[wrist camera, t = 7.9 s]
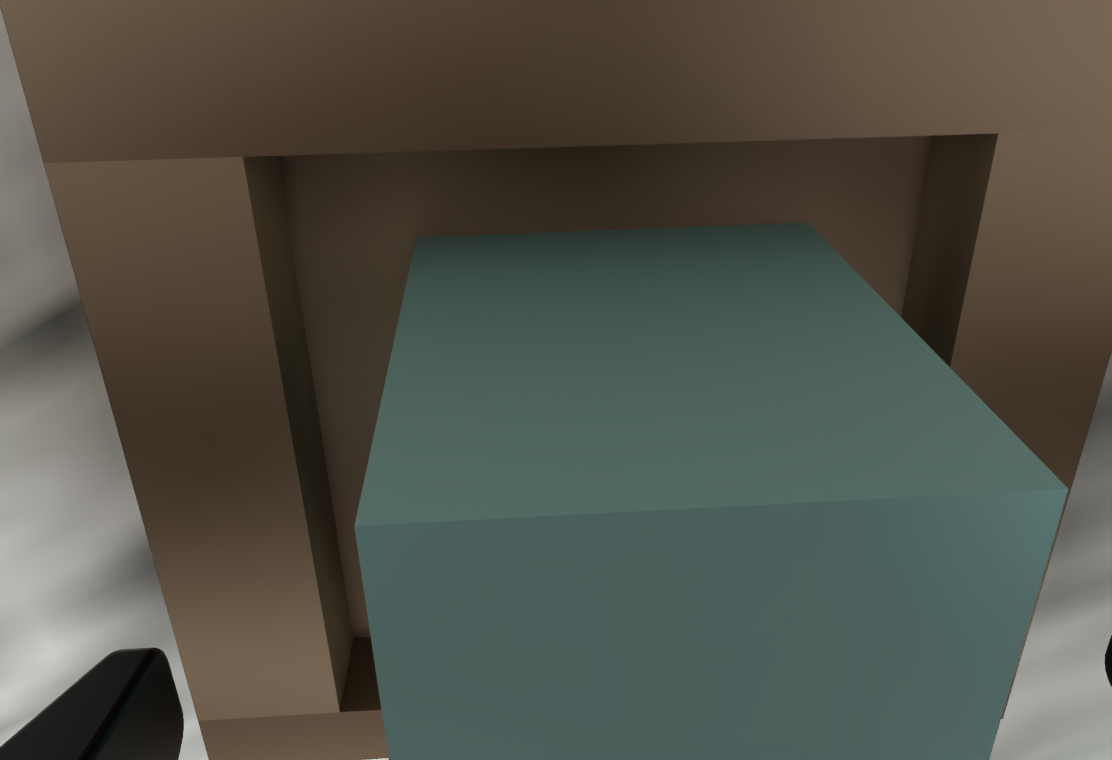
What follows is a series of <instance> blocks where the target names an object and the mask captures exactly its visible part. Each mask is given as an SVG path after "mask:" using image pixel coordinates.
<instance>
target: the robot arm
mask: <svg viewBox="0 0 1112 760" xmlns="http://www.w3.org/2000/svg"><path fill="white" fill-rule="evenodd" d="M1105 669H1106V673H1107V677H1108V680H1109V682H1110V685H1111V687H1112V636H1111V639H1110V642H1109V644H1108V647H1107V650H1106V654H1105ZM183 729H184V719H183V712H182V707H181V704H180V700H179V697H178V694H177V690H176V687H175V683H174V680H173V676H172V673H171V669H170V666H169V662H168V659H167V657H166V655H165V654H164V652H163V651H162V650H160V649H157V648H138V649H121V650H117V651H114V652H112V653H110V654H109V655H108V656H106V657H105V658H104V659H102V660H101V661H100V662H99V663H98V664H97V665H95V666H94V667H93V668H92V669H91V670H90V671H88V672H87V673H86V674H85V675H84V676H83V677H81V678H80V679H79V680H78V681H77V682H76V683H74V684H73V685H72V686H71V687H70V688H69V689H67V690H66V691H65V692H64V693H63V694H61V695H60V696H59V697H58V698H57V699H56V700H54V701H53V702H52V703H51V704H50V705H49V706H47V707H46V708H45V709H44V710H43V711H42V712H40V713H39V714H38V715H37V716H36V717H35V718H33V719H32V720H31V721H30V722H29V723H27V724H26V725H25V726H24V727H23V728H22V729H20V730H19V731H18V732H17V733H16V734H15V735H13V736H12V737H11V738H10V739H9V740H8V741H6V742H5V743H4V744H3V745H2V746H1V747H0V760H178V758H179V753H180V749H181V744H182V738H183Z"/></svg>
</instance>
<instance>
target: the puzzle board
mask: <svg viewBox="0 0 1112 760" xmlns="http://www.w3.org/2000/svg"><path fill="white" fill-rule="evenodd" d="M0 7H1V11H2V14H3V18H4V22H5V25H6V29H7V33H8V36H9V40H10V43H11V47H12V51H13V54H14V58H15V61H16V65H17V69H18V72H19V76H20V79H21V83H22V87H23V90H24V94H25V97H26V101H27V105H28V108H29V112H30V116H31V119H32V123H33V126H34V130H35V134H36V137H37V141H38V144H39V148H40V152H41V155H42V159H43V162H44V166H45V170H46V173H47V177H48V181H49V184H50V188H51V191H52V195H53V199H54V202H55V206H56V209H57V213H58V217H59V220H60V224H61V227H62V231H63V235H64V238H65V242H66V245H67V249H68V253H69V256H70V260H71V264H72V267H73V271H74V274H75V278H76V282H77V285H78V289H79V292H80V296H81V300H82V303H83V307H84V310H85V314H86V318H87V321H88V325H89V329H90V332H91V336H92V339H93V343H94V347H95V350H96V354H97V357H98V361H99V365H100V368H101V372H102V375H103V379H104V383H105V386H106V390H107V393H108V397H109V401H110V404H111V408H112V412H113V415H114V419H115V422H116V426H117V430H118V433H119V437H120V440H121V444H122V448H123V451H124V455H125V458H126V462H127V466H128V469H129V473H130V477H131V480H132V484H133V487H134V491H135V495H136V498H137V502H138V505H139V509H140V513H141V516H142V520H143V523H144V527H145V531H146V534H147V538H148V542H149V545H150V549H151V552H152V556H153V560H154V563H155V567H156V570H157V574H158V578H159V581H160V585H161V588H162V592H163V596H164V599H165V603H166V606H167V610H168V614H169V617H170V621H171V625H172V628H173V632H174V635H175V639H176V643H177V646H178V650H179V653H180V657H181V661H182V664H183V668H184V671H185V675H186V679H187V682H188V686H189V690H190V693H191V697H192V700H193V704H194V708H195V711H196V715H197V718H198V722H199V726H200V729H201V733H202V736H203V740H204V744H205V747H206V751H207V754H208V758H209V760H362V759H378V758H388V751H387V744H386V737H385V731H384V724H383V717H382V710H381V703H380V697H379V690H378V683H377V676H376V670H375V663H374V656H373V649H372V642H371V636H370V629H369V622H368V615H367V608H366V602H365V595H364V588H363V581H362V575H361V568H360V561H359V554H358V547H357V541H356V534H355V527H354V526H355V521H356V516H357V512H358V507H359V502H360V498H361V493H362V488H363V483H364V479H365V474H366V469H367V465H368V460H369V455H370V451H371V446H372V441H373V437H374V432H375V427H376V423H377V418H378V413H379V409H380V404H381V399H382V395H383V390H384V385H385V381H386V376H387V371H388V367H389V362H390V357H391V353H392V348H393V343H394V339H395V334H396V329H397V325H398V320H399V315H400V311H401V306H402V301H403V297H404V292H405V287H406V282H407V278H408V273H409V268H410V264H411V259H412V254H413V250H414V245H415V240H416V237H432V236H459V235H486V234H513V233H539V232H566V231H593V230H620V229H647V228H674V227H701V226H728V225H755V224H782V223H809V224H810V225H811V226H812V227H813V228H814V229H815V230H816V231H817V232H818V233H819V234H820V235H821V236H822V237H823V238H824V239H825V240H826V241H827V242H828V243H829V244H830V246H831V247H832V248H833V249H834V250H835V251H836V252H837V253H838V254H839V255H840V256H841V257H842V258H843V259H844V260H845V261H846V262H847V263H848V264H849V265H850V266H851V267H852V268H853V269H854V270H855V271H856V272H857V273H858V274H859V275H860V276H861V277H862V278H863V279H864V280H865V281H866V282H867V283H868V284H869V285H870V286H871V287H872V288H873V289H874V291H875V292H876V293H877V294H878V295H879V296H880V297H881V298H882V299H883V300H884V301H885V302H886V303H887V304H888V305H889V306H890V307H891V308H892V309H893V310H894V311H895V312H896V313H897V314H898V315H899V316H900V317H901V318H902V319H903V320H904V321H905V322H906V323H907V324H908V325H909V326H910V327H911V328H912V329H913V330H914V331H915V332H916V333H917V334H918V335H919V337H920V338H921V339H922V340H923V341H924V342H925V343H926V344H927V345H928V346H929V347H930V348H931V349H932V350H933V351H934V352H935V353H936V354H937V355H938V356H939V357H940V358H941V359H942V360H943V361H944V362H945V363H946V364H947V365H948V366H949V367H950V368H951V369H952V370H953V371H954V372H955V373H956V374H957V375H958V376H959V377H960V378H961V379H962V380H963V382H964V383H965V384H966V385H967V386H968V387H969V388H970V389H971V390H972V391H973V392H974V393H975V394H976V395H977V396H978V397H979V398H980V399H981V400H982V401H983V402H984V403H985V404H986V405H987V406H988V407H989V408H990V409H991V410H992V411H993V412H994V413H995V414H996V415H997V416H998V417H999V418H1000V419H1001V420H1002V421H1003V422H1004V423H1005V424H1006V425H1007V426H1008V428H1009V429H1010V430H1011V431H1012V432H1013V433H1014V434H1015V435H1016V436H1017V437H1018V438H1019V439H1020V440H1021V441H1022V442H1023V443H1024V444H1025V445H1026V446H1027V447H1028V448H1029V449H1030V450H1031V451H1032V452H1033V453H1034V454H1035V455H1036V456H1037V457H1038V458H1039V459H1040V460H1041V461H1042V462H1043V463H1044V464H1045V465H1046V466H1047V467H1048V468H1049V469H1050V470H1051V471H1052V473H1053V474H1054V475H1055V476H1056V477H1057V478H1058V479H1059V480H1060V481H1061V482H1062V483H1063V484H1064V485H1065V486H1066V487H1067V488H1068V492H1067V495H1066V499H1065V502H1064V506H1063V509H1062V512H1061V516H1060V519H1059V523H1058V526H1057V529H1056V533H1055V536H1054V540H1053V543H1052V546H1051V550H1050V553H1049V557H1048V560H1047V564H1046V567H1045V570H1044V574H1043V577H1042V581H1041V584H1040V587H1039V591H1038V594H1037V598H1036V601H1035V604H1034V608H1033V611H1032V615H1031V618H1030V621H1029V625H1028V628H1027V632H1026V635H1025V638H1024V642H1023V645H1022V649H1021V652H1020V656H1019V659H1018V662H1017V666H1016V669H1015V673H1014V676H1013V679H1012V683H1011V686H1010V690H1009V693H1008V696H1007V700H1006V703H1005V707H1004V710H1003V713H1002V717H1001V719H1003V716H1004V712H1005V709H1006V706H1007V702H1008V699H1009V696H1010V692H1011V689H1012V685H1013V682H1014V679H1015V675H1016V672H1017V669H1018V665H1019V662H1020V659H1021V655H1022V652H1023V648H1024V645H1025V642H1026V638H1027V635H1028V632H1029V628H1030V625H1031V621H1032V618H1033V615H1034V611H1035V608H1036V605H1037V601H1038V598H1039V595H1040V591H1041V588H1042V584H1043V581H1044V578H1045V574H1046V571H1047V568H1048V564H1049V561H1050V557H1051V554H1052V551H1053V547H1054V544H1055V541H1056V537H1057V534H1058V530H1059V527H1060V524H1061V520H1062V517H1063V514H1064V510H1065V507H1066V504H1067V500H1068V497H1069V493H1070V490H1071V487H1072V483H1073V480H1074V477H1075V473H1076V470H1077V466H1078V463H1079V460H1080V456H1081V453H1082V450H1083V446H1084V443H1085V440H1086V436H1087V433H1088V429H1089V426H1090V423H1091V419H1092V416H1093V413H1094V409H1095V406H1096V402H1097V399H1098V396H1099V392H1100V389H1101V386H1102V382H1103V379H1104V376H1105V372H1106V369H1107V365H1108V362H1109V359H1110V355H1111V352H1112V0H0Z"/></svg>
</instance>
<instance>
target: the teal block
mask: <svg viewBox="0 0 1112 760" xmlns="http://www.w3.org/2000/svg"><path fill="white" fill-rule="evenodd" d="M1067 492H1068V488H1067V487H1066V486H1065V485H1064V484H1063V483H1062V482H1061V481H1060V480H1059V479H1058V478H1057V477H1056V476H1055V475H1054V474H1053V473H1052V471H1051V470H1050V469H1049V468H1048V467H1047V466H1046V465H1045V464H1044V463H1043V462H1042V461H1041V460H1040V459H1039V458H1038V457H1037V456H1036V455H1035V454H1034V453H1033V452H1032V451H1031V450H1030V449H1029V448H1028V447H1027V446H1026V445H1025V444H1024V443H1023V442H1022V441H1021V440H1020V439H1019V438H1018V437H1017V436H1016V435H1015V434H1014V433H1013V432H1012V431H1011V430H1010V429H1009V428H1008V426H1007V425H1006V424H1005V423H1004V422H1003V421H1002V420H1001V419H1000V418H999V417H998V416H997V415H996V414H995V413H994V412H993V411H992V410H991V409H990V408H989V407H988V406H987V405H986V404H985V403H984V402H983V401H982V400H981V399H980V398H979V397H978V396H977V395H976V394H975V393H974V392H973V391H972V390H971V389H970V388H969V387H968V386H967V385H966V384H965V383H964V382H963V380H962V379H961V378H960V377H959V376H958V375H957V374H956V373H955V372H954V371H953V370H952V369H951V368H950V367H949V366H948V365H947V364H946V363H945V362H944V361H943V360H942V359H941V358H940V357H939V356H938V355H937V354H936V353H935V352H934V351H933V350H932V349H931V348H930V347H929V346H928V345H927V344H926V343H925V342H924V341H923V340H922V339H921V338H920V337H919V335H918V334H917V333H916V332H915V331H914V330H913V329H912V328H911V327H910V326H909V325H908V324H907V323H906V322H905V321H904V320H903V319H902V318H901V317H900V316H899V315H898V314H897V313H896V312H895V311H894V310H893V309H892V308H891V307H890V306H889V305H888V304H887V303H886V302H885V301H884V300H883V299H882V298H881V297H880V296H879V295H878V294H877V293H876V292H875V291H874V289H873V288H872V287H871V286H870V285H869V284H868V283H867V282H866V281H865V280H864V279H863V278H862V277H861V276H860V275H859V274H858V273H857V272H856V271H855V270H854V269H853V268H852V267H851V266H850V265H849V264H848V263H847V262H846V261H845V260H844V259H843V258H842V257H841V256H840V255H839V254H838V253H837V252H836V251H835V250H834V249H833V248H832V247H831V246H830V244H829V243H828V242H827V241H826V240H825V239H824V238H823V237H822V236H821V235H820V234H819V233H818V232H817V231H816V230H815V229H814V228H813V227H812V226H811V225H810V224H809V223H782V224H755V225H728V226H701V227H674V228H647V229H620V230H593V231H566V232H539V233H513V234H486V235H459V236H432V237H416V240H415V245H414V250H413V254H412V259H411V264H410V268H409V273H408V278H407V282H406V287H405V292H404V297H403V301H402V306H401V311H400V315H399V320H398V325H397V329H396V334H395V339H394V343H393V348H392V353H391V357H390V362H389V367H388V371H387V376H386V381H385V385H384V390H383V395H382V399H381V404H380V409H379V413H378V418H377V423H376V427H375V432H374V437H373V441H372V446H371V451H370V455H369V460H368V465H367V469H366V474H365V479H364V483H363V488H362V493H361V498H360V502H359V507H358V512H357V516H356V521H355V526H354V527H355V534H356V541H357V547H358V554H359V561H360V568H361V575H362V581H363V588H364V595H365V602H366V608H367V615H368V622H369V629H370V636H371V642H372V649H373V656H374V663H375V670H376V676H377V683H378V690H379V697H380V703H381V710H382V717H383V724H384V731H385V737H386V744H387V751H388V758H389V760H989V758H990V754H991V751H992V748H993V744H994V741H995V737H996V734H997V730H998V727H999V724H1000V720H1001V717H1002V713H1003V710H1004V707H1005V703H1006V700H1007V696H1008V693H1009V690H1010V686H1011V683H1012V679H1013V676H1014V673H1015V669H1016V666H1017V662H1018V659H1019V656H1020V652H1021V649H1022V645H1023V642H1024V638H1025V635H1026V632H1027V628H1028V625H1029V621H1030V618H1031V615H1032V611H1033V608H1034V604H1035V601H1036V598H1037V594H1038V591H1039V587H1040V584H1041V581H1042V577H1043V574H1044V570H1045V567H1046V564H1047V560H1048V557H1049V553H1050V550H1051V546H1052V543H1053V540H1054V536H1055V533H1056V529H1057V526H1058V523H1059V519H1060V516H1061V512H1062V509H1063V506H1064V502H1065V499H1066V495H1067Z"/></svg>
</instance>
